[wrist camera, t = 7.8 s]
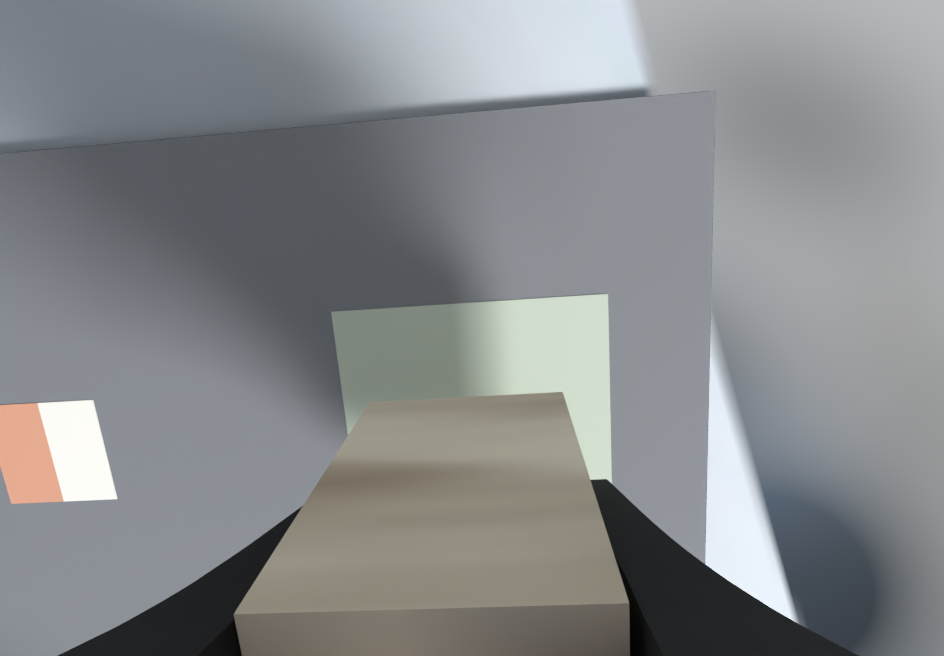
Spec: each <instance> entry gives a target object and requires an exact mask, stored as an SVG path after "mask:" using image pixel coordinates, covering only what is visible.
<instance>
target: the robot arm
mask: <svg viewBox="0 0 944 656" xmlns="http://www.w3.org/2000/svg"><path fill="white" fill-rule="evenodd" d="M591 483H592V487H593V490H594V493H595V496H596V499H597V502H598V506H599V509H600V512H601V515H602V518H603V521H604V525H605V528H606V531H607V534H608V537H609V540H610V544H611V547H612V550H613V553H614V556H615V559H616V563H617V566H618V569H619V572H620V575H621V578H622V582H623V585H624V588H625V591H626V594H627V597H628V601H629V615H630V656H858V655H856V654H854V653H852V652H850V651H848V650H846V649H844V648H842V647H840V646H838V645H837V644H835V643H833V642H831V641H829V640H827V639H825V638H824V637H821V636H820V635H818V634H816V633H814V632H812V631H810V630H808V629H807V628H805V627H803V626H801V625H799V624H797V623H796V622H794V621H792V620H790V619H789V618H787V617H785V616H783V615H782V614H780V613H778V612H776V611H775V610H773V609H771V608H770V607H768V606H767V605H765V604H763V603H762V602H760V601H759V600H757V599H756V598H754V597H752V596H751V595H749V594H748V593H746V592H745V591H743V590H741V589H740V588H738V587H737V586H735V585H734V584H732V583H731V582H729V581H728V580H726V579H725V578H723V577H722V576H720V575H719V574H717V573H716V572H715V571H713V570H712V569H711V568H709V567H708V566H707V565H705V564H704V563H703V562H701V561H700V560H699V559H697V558H696V557H695V556H693V555H692V554H691V553H689V552H688V551H687V550H685V549H684V548H683V547H682V546H680V545H679V544H678V543H677V542H676V541H674V540H673V539H672V538H671V537H669V536H668V535H667V534H666V533H665V532H664V531H662V530H661V529H660V528H659V527H658V526H657V525H655V524H654V523H653V522H652V521H651V520H650V519H649V518H648V517H647V516H646V515H644V514H643V513H642V512H641V511H640V510H639V509H638V508H637V507H636V506H635V505H634V504H633V503H632V502H631V501H630V500H629V499H627V498H626V497H625V496H624V495H623V494H622V493H621V492H620V491H619V490H618V489H617V488H616V487H615V486H614V485H613V484H612V483H611V482H609V481H608V480H607V479H597V480H591ZM302 507H303V506H302ZM302 507H300V508H299V509H297V510H296V511H295V512H293V513H292V514H291V515H289V516H288V517H287V518H285V519H284V520H282V521H281V522H280V523H278V524H277V525H276V526H274V527H273V528H271V529H270V530H269V531H267V532H266V533H265V534H263V535H262V536H260V537H259V538H258V539H256V540H255V541H254V542H252V543H251V544H249V545H248V546H247V547H245V548H244V549H242V550H241V551H239V552H238V553H236V554H235V555H233V556H232V557H230V558H229V559H227V560H226V561H225V562H223V563H222V564H220V565H219V566H217V567H216V568H214V569H213V570H211V571H210V572H208V573H207V574H205V575H204V576H202V577H201V578H199V579H198V580H196V581H195V582H193V583H191V584H190V585H188V586H187V587H185V588H183V589H182V590H180V591H179V592H177V593H175V594H174V595H172V596H170V597H169V598H167V599H165V600H164V601H162V602H160V603H158V604H157V605H155V606H153V607H151V608H149V609H148V610H146V611H144V612H142V613H141V614H139V615H137V616H135V617H133V618H132V619H130V620H128V621H126V622H124V623H122V624H121V625H119V626H117V627H115V628H113V629H111V630H109V631H107V632H105V633H103V634H101V635H99V636H97V637H95V638H93V639H90V640H88V641H86V642H84V643H82V644H80V645H78V646H76V647H74V648H72V649H70V650H68V651H66V652H64V653H62V654H60V655H58V656H242V653H241V648H240V643H239V639H238V634H237V629H236V624H235V619H234V613H235V611H236V610H237V608H238V607H239V605H240V603H241V602H242V600H243V599H244V597H245V596H246V594H247V592H248V591H249V589H250V588H251V586H252V585H253V583H254V582H255V580H256V578H257V577H258V575H259V574H260V572H261V571H262V569H263V568H264V566H265V564H266V563H267V561H268V560H269V558H270V557H271V555H272V553H273V552H274V550H275V549H276V547H277V546H278V544H279V543H280V541H281V539H282V538H283V536H284V535H285V533H286V532H287V530H288V528H289V527H290V525H291V524H292V522H293V521H294V519H295V518H296V516H297V514H298V513H299V511H300V510H301V508H302Z"/></svg>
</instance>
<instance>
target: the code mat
mask: <svg viewBox="0 0 944 656" xmlns="http://www.w3.org/2000/svg"><path fill="white" fill-rule="evenodd" d="M715 102H716V91H705V92H693V93H681V94H671V95H659V96H647V97H636V98H625V99H613V100H602V101H591V102H579V103H568V104H557V105H545V106H534V107H523V108H511V109H500V110H489V111H477V112H466V113H455V114H443V115H432V116H421V117H409V118H398V119H387V120H375V121H364V122H353V123H342V124H330V125H319V126H308V127H296V128H285V129H274V130H262V131H251V132H240V133H228V134H217V135H206V136H194V137H183V138H172V139H160V140H149V141H138V142H126V143H115V144H104V145H92V146H81V147H70V148H58V149H47V150H36V151H24V152H13V153H2V154H0V656H58V655H60V654H62V653H64V652H66V651H68V650H70V649H72V648H74V647H76V646H78V645H80V644H82V643H84V642H86V641H88V640H90V639H93V638H95V637H97V636H99V635H101V634H103V633H105V632H107V631H109V630H111V629H113V628H115V627H117V626H119V625H121V624H122V623H124V622H126V621H128V620H130V619H132V618H133V617H135V616H137V615H139V614H141V613H142V612H144V611H146V610H148V609H149V608H151V607H153V606H155V605H157V604H158V603H160V602H162V601H164V600H165V599H167V598H169V597H170V596H172V595H174V594H175V593H177V592H179V591H180V590H182V589H183V588H185V587H187V586H188V585H190V584H191V583H193V582H195V581H196V580H198V579H199V578H201V577H202V576H204V575H205V574H207V573H208V572H210V571H211V570H213V569H214V568H216V567H217V566H219V565H220V564H222V563H223V562H225V561H226V560H227V559H229V558H230V557H232V556H233V555H235V554H236V553H238V552H239V551H241V550H242V549H244V548H245V547H247V546H248V545H249V544H251V543H252V542H254V541H255V540H256V539H258V538H259V537H260V536H262V535H263V534H265V533H266V532H267V531H269V530H270V529H271V528H273V527H274V526H276V525H277V524H278V523H280V522H281V521H282V520H284V519H285V518H287V517H288V516H289V515H291V514H292V513H293V512H295V511H296V510H297V509H299V508H300V507H302V506H303V505H304V503H305V502H306V500H307V499H308V497H309V496H310V494H311V493H312V491H313V489H314V488H315V486H316V485H317V483H318V482H319V480H320V479H321V477H322V475H323V474H324V472H325V471H326V469H327V468H328V466H329V464H330V463H331V461H332V460H333V458H334V457H335V455H336V454H337V452H338V450H339V449H340V447H341V446H342V444H343V443H344V441H345V439H346V438H347V436H348V435H349V433H350V432H351V430H352V429H353V427H354V425H355V424H356V422H357V421H358V419H359V418H360V416H361V415H362V413H363V411H364V410H365V408H366V407H367V405H368V404H369V402H384V401H402V400H421V399H440V398H458V397H477V396H496V395H514V394H533V393H552V392H563V395H564V398H565V401H566V404H567V407H568V411H569V414H570V417H571V420H572V423H573V426H574V430H575V433H576V436H577V439H578V442H579V445H580V449H581V452H582V455H583V458H584V461H585V464H586V468H587V471H588V474H589V477H590V480H597V479H607V480H608V481H609V482H611V483H612V484H613V485H614V486H615V487H616V488H617V489H618V490H619V491H620V492H621V493H622V494H623V495H624V496H625V497H626V498H627V499H629V500H630V501H631V502H632V503H633V504H634V505H635V506H636V507H637V508H638V509H639V510H640V511H641V512H642V513H643V514H644V515H646V516H647V517H648V518H649V519H650V520H651V521H652V522H653V523H654V524H655V525H657V526H658V527H659V528H660V529H661V530H662V531H664V532H665V533H666V534H667V535H668V536H669V537H671V538H672V539H673V540H674V541H676V542H677V543H678V544H679V545H680V546H682V547H683V548H684V549H685V550H687V551H688V552H689V553H691V554H692V555H693V556H695V557H696V558H697V559H699V560H700V561H701V562H703V563H704V564H705V543H706V499H707V455H708V411H709V367H710V324H711V277H712V236H713V234H712V233H713V192H714V148H715V105H716V104H715Z"/></svg>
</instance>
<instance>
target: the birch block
mask: <svg viewBox="0 0 944 656" xmlns="http://www.w3.org/2000/svg"><path fill="white" fill-rule="evenodd" d="M234 619H235V624H236V629H237V634H238V639H239V643H240V648H241V653H242V656H630V615H629V601H628V597H627V594H626V591H625V588H624V585H623V582H622V578H621V575H620V572H619V569H618V566H617V563H616V559H615V556H614V553H613V550H612V547H611V544H610V540H609V537H608V534H607V531H606V528H605V525H604V521H603V518H602V515H601V512H600V509H599V506H598V502H597V499H596V496H595V493H594V490H593V487H592V483H591V480H590V477H589V474H588V471H587V468H586V464H585V461H584V458H583V455H582V452H581V449H580V445H579V442H578V439H577V436H576V433H575V430H574V426H573V423H572V420H571V417H570V414H569V411H568V407H567V404H566V401H565V398H564V395H563V392H552V393H533V394H514V395H496V396H477V397H458V398H440V399H421V400H402V401H384V402H369V404H368V405H367V407H366V408H365V410H364V411H363V413H362V415H361V416H360V418H359V419H358V421H357V422H356V424H355V425H354V427H353V429H352V430H351V432H350V433H349V435H348V436H347V438H346V439H345V441H344V443H343V444H342V446H341V447H340V449H339V450H338V452H337V454H336V455H335V457H334V458H333V460H332V461H331V463H330V464H329V466H328V468H327V469H326V471H325V472H324V474H323V475H322V477H321V479H320V480H319V482H318V483H317V485H316V486H315V488H314V489H313V491H312V493H311V494H310V496H309V497H308V499H307V500H306V502H305V503H304V505H303V507H302V508H301V510H300V511H299V513H298V514H297V516H296V518H295V519H294V521H293V522H292V524H291V525H290V527H289V528H288V530H287V532H286V533H285V535H284V536H283V538H282V539H281V541H280V543H279V544H278V546H277V547H276V549H275V550H274V552H273V553H272V555H271V557H270V558H269V560H268V561H267V563H266V564H265V566H264V568H263V569H262V571H261V572H260V574H259V575H258V577H257V578H256V580H255V582H254V583H253V585H252V586H251V588H250V589H249V591H248V592H247V594H246V596H245V597H244V599H243V600H242V602H241V603H240V605H239V607H238V608H237V610H236V611H235V613H234Z"/></svg>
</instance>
